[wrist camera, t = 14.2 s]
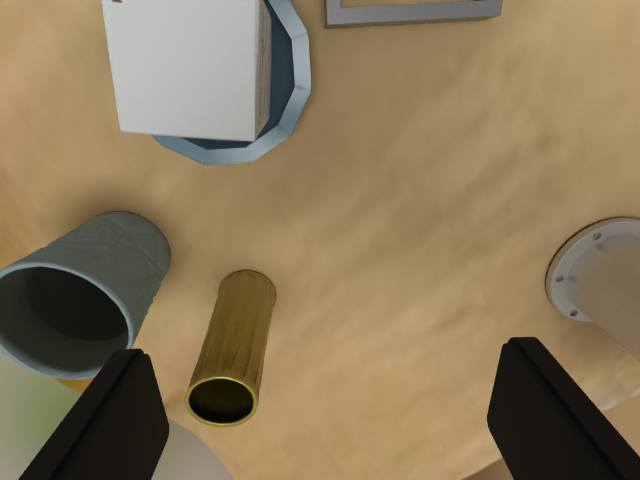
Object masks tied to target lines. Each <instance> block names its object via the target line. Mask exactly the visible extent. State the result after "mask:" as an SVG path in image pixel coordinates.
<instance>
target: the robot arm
mask: <svg viewBox="0 0 640 480" xmlns="http://www.w3.org/2000/svg"><path fill="white" fill-rule="evenodd" d="M546 291H547V296H548V298H549V300H550V302H551V303H552V305H553V306H554V307H555V308H556V309H557V310H558V311H559V312H560V313H561V314H563V315H564V316H566V317H567V318H569V319H572V320H576V321H579V322H594V323H595V324H597V325H598V326H599V327H600V328H601V329H603V330H604V331H605V332H606V333H607V334H608V335H610V336H611V337H612V338H613V339H614V340H616V341H617V342H618V343H619V344H620V345H622V346H623V347H624V348H625V349H626V350H627V351H629V352H630V353H631V354H632V355H633V356H635V357H636V358H637V359H638V360H639V361H640V220H639V219H635V218H627V217H624V218H613V219H609V220H605V221H601V222H599V223H596V224H594V225H592V226H590V227H588V228H586V229H584V230H583V231H581V232H579V233H578V234H577V235H576V236H574V237H573V238H572V239H570V240H569V241H568V242H567V243H566V244H565V245H564V246H563V247H562V248H561V250H560V251H559V252H558V254H557V255H556V257H555V258H554V260H553V262H552V264H551V266H550V268H549V271H548V274H547V279H546ZM487 423H488V427H489V430H490V432H491V434H492V436H493V438H494V440H495V442H496V444H497V446H498V448H499V450H500V452H501V454H502V456H503V458H504V460H505V463H506V464H507V466H508V468H509V471H510V473H511V475H512V477H513V479H514V480H640V457H639V456H638V455H637V453H636V452H635V451H634V450H633V449H632V448H631V446H630V445H629V444H628V443H627V442H626V441H625V439H624V438H623V437H622V436H621V435H620V434H619V432H618V431H617V430H616V429H615V428H614V427H613V426H612V424H611V423H610V422H609V421H608V420H607V419H606V417H605V416H604V415H603V414H602V413H601V412H600V410H599V409H598V408H597V407H596V406H595V405H594V403H593V402H592V401H591V400H590V399H589V398H588V396H587V395H586V394H585V393H584V392H583V391H582V389H581V388H580V387H579V386H578V385H577V384H576V382H575V381H574V380H573V379H572V378H571V377H570V375H569V374H568V373H567V372H566V371H565V370H564V369H563V367H562V366H561V365H560V364H559V363H558V362H557V360H556V359H555V358H554V357H553V356H552V355H551V353H550V352H549V351H548V350H547V349H546V348H545V346H544V345H543V344H542V343H541V342H540V341H539V340H538V339H537V338H535V337H513V338H510V339H509V341H508V343H505V344H504V345H503V346H502V350H501V354H500V359H499V363H498V368H497V373H496V377H495V382H494V386H493V391H492V396H491V400H490V405H489V409H488V414H487ZM168 435H169V423H168V420H167V416H166V413H165V409H164V405H163V402H162V398H161V395H160V391H159V388H158V384H157V380H156V377H155V373H154V370H153V366H152V362H151V359H150V356H149V355H148V354H144V352H143V351H142V350H141V349H118V350H116V351H115V352H114V353H113V354H112V355H111V356H110V358H109V359H108V360H107V362H106V363H105V364H104V366H103V367H102V368H101V370H100V371H99V372H98V374H97V375H96V376H95V378H94V379H93V380H92V382H91V383H90V384H89V386H88V387H87V389H86V390H85V391H84V393H83V394H82V395H81V397H80V398H79V399H78V401H77V402H76V403H75V405H74V406H73V407H72V409H71V410H70V411H69V413H68V414H67V415H66V416H65V418H64V419H63V421H62V422H61V423H60V424H59V426H58V427H57V429H56V430H55V431H54V432H53V434H52V435H51V437H50V438H49V439H48V441H47V442H46V443H45V445H44V446H43V447H42V449H41V450H40V451H39V453H38V454H37V455H36V457H35V458H34V459H33V461H32V462H31V463H30V465H29V466H28V467H27V469H26V470H25V471H24V473H23V474H22V475H21V477H20V478H19V479H18V480H151V478H152V476H153V473H154V471H155V468H156V466H157V464H158V461H159V459H160V457H161V454H162V451H163V449H164V447H165V444H166V442H167V439H168Z"/></svg>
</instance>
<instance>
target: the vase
mask: <svg viewBox="0 0 640 480" xmlns="http://www.w3.org/2000/svg"><path fill="white" fill-rule="evenodd" d="M275 301H276V291H275V288H274V286H273V284H272V283H271V282H270V281H269V280H268V279H267V278H266V277H265V276H263V275H261V274H259V273H257V272H252V271H240V272H236V273H233V274H231V275H229V276H228V277H227V278H225V279H224V280H223V282H222V283H221V285H220V288H219V292H218V298H217V301H216V304H215V307H214V311H213V314H212V317H211V320H210V323H209V326H208V330H207V334H206V337H205V340H204V343H203V346H202V349H201V353H200V356H199V359H198V362H197V364H196V367H195V370H194V372H193V375H192V378H191V381H190V384H189V387H188V390H187V393H186V396H185V406H186V409H187V411H188V412H189V413H190V415H191V416H193V417H194V418H195V419H196V420H198V421H199V422H201V423H204V424H206V425H210V426H214V427H233V426H237V425H240V424H242V423H244V422H246V421H248V420H249V419H250V418H251V417H252V416H253V415H254V414H255V412H256V409H257V406H258V402H259V389H260V385H261V380H262V372H263V364H264V356H265V350H266V345H267V337H268V332H269V327H270V322H271V317H272V311H273V306H274V304H275Z"/></svg>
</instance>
